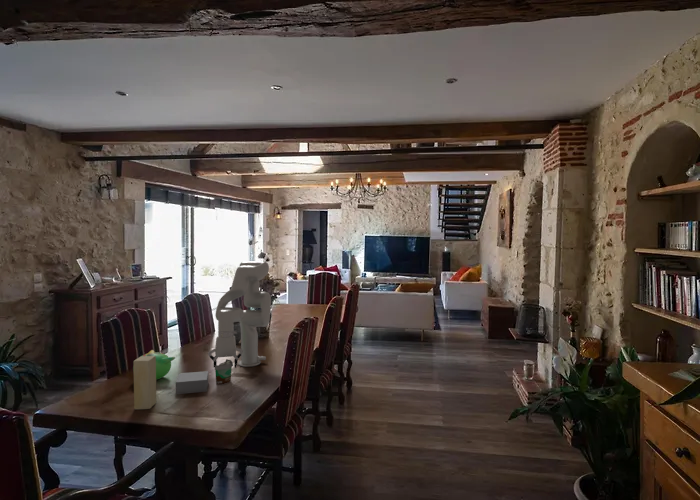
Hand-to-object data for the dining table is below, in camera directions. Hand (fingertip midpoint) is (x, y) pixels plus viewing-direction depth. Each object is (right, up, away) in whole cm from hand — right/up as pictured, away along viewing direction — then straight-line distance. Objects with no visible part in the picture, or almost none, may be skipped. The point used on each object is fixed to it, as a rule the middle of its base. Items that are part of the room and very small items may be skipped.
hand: (225, 367), depth 218 cm
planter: (-19, -6, +81) cm, 83 cm away
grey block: (-14, -8, -8) cm, 18 cm away
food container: (0, -8, +1) cm, 8 cm away
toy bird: (-39, -8, +4) cm, 40 cm away
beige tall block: (-26, -8, -31) cm, 41 cm away
